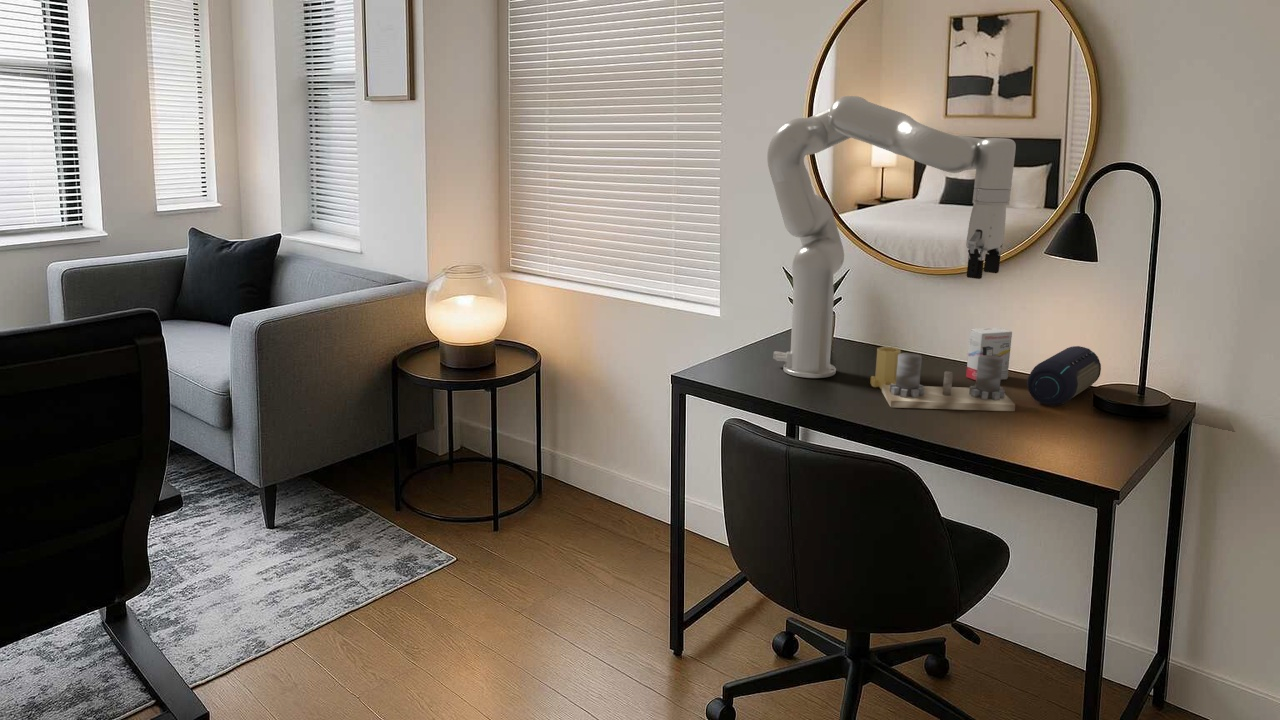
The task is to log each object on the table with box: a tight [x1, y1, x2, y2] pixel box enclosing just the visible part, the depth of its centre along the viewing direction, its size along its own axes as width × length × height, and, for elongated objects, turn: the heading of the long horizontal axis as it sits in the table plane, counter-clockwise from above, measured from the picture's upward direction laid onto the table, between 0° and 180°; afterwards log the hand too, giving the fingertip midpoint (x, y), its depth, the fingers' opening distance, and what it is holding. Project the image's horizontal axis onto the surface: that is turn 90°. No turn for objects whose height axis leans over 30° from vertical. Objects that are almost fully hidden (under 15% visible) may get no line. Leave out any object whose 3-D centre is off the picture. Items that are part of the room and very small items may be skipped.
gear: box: [869, 346, 902, 390], centre depth 224 cm, size 7×7×8 cm
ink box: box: [965, 327, 1013, 381], centre depth 230 cm, size 9×5×12 cm, turn 107°
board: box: [881, 352, 1016, 412], centre depth 212 cm, size 26×12×10 cm, turn 85°
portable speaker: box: [1026, 345, 1102, 406], centre depth 217 cm, size 25×10×10 cm, turn 139°
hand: (982, 275), depth 214 cm, fingers open, 9 cm apart
